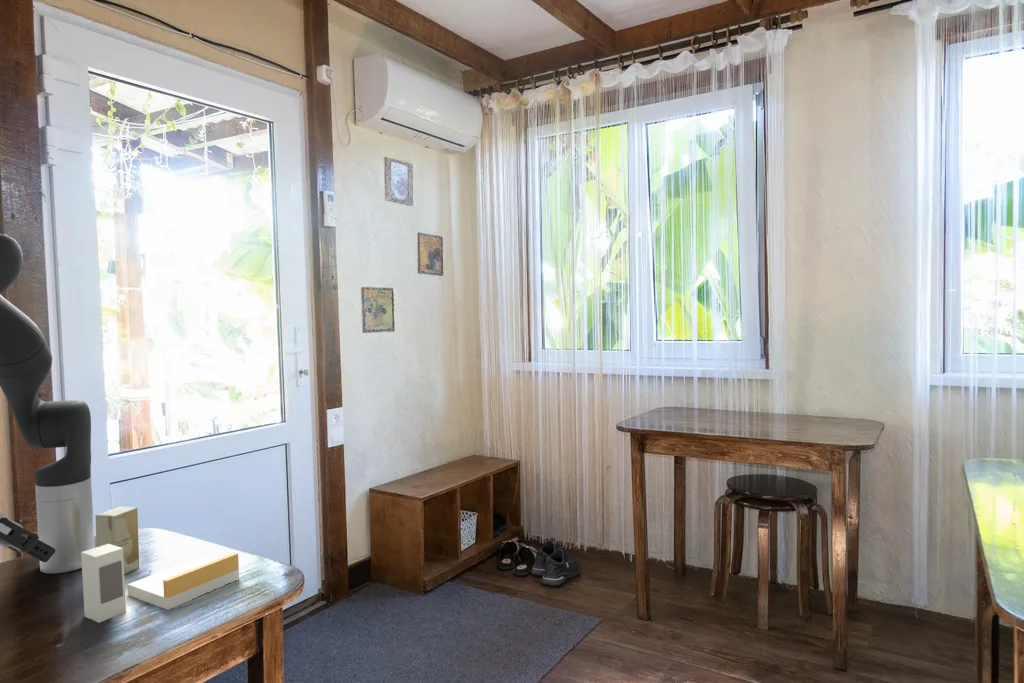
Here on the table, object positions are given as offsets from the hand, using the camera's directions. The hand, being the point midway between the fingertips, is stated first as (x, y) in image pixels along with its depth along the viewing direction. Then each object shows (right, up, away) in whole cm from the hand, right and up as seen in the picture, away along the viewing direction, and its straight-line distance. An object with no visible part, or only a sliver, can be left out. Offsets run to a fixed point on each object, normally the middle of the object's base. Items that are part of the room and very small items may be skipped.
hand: (36, 551), depth 101 cm
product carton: (+5, -13, +9) cm, 17 cm away
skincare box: (-3, -13, +27) cm, 30 cm away
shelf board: (+13, -13, +19) cm, 27 cm away
